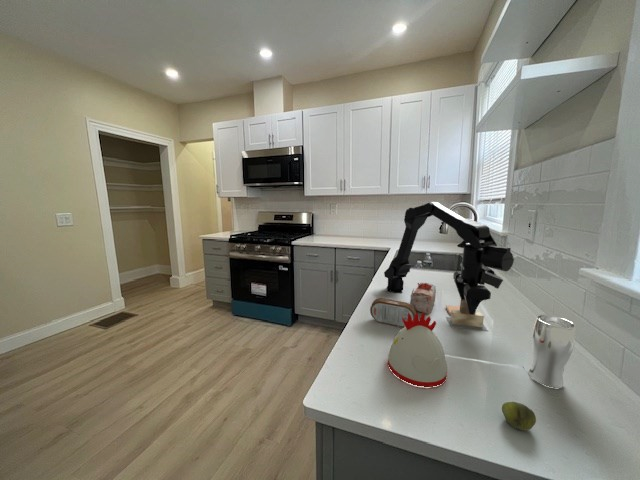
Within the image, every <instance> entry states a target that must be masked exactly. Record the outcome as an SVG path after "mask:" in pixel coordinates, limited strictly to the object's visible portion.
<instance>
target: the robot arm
mask: <svg viewBox="0 0 640 480" xmlns="http://www.w3.org/2000/svg"><path fill="white" fill-rule="evenodd" d="M432 216H434V217H435V218H437V219H438V220H439V221H441V222H443V223H445V224H446V225H448V226H449V227H451V228H452V229H454V230H455V231H456V234H457V236H458V237H459V238H461V239H462V241H461V242H460V243H458V244H457V245H456V246H457V247H458V248H460V249H461V248H462V249H463V250H462V259H461V260H462V262H461V263H460V265H459V267H460V268H461V271H460V270H459V271H458V270H456V271H455V272H453V276H452V277H453V280H454V283H455V287H456V289H457V291H458V294H459V298H460V300H461V299H463V300H466V304H467V307H468V311H469V314H472V315H473V314H474V313H475V311H476V312H477V309H478V307H479V305H480V303H481V302H482V301H487V300H491V295H492V292H491V291H490V290H489V289H488V288H487V287H486V286H485V284H486V285H489V286H491V287H493V288H494V289H497V290H498V289H500V286H501V285H502V284H503V282H504V279H503V278H502V277H500V276H498V275H497V274H495V271H494V270H500V271H503V272H508V271H510V269H512V267H513V265H514V261H515V258H514V256H513V253H512V252H511V247H508V246H507V247H506V246H505V247H504V246H498V244H497V243H496V241H495V239H494V238H493V236H492V234H491V232H490V227H489V226H488V225H486V224H485V223H482V222H478V221H476V220H475V221H474V220H470V219H467V218H464V216H461V215H459V214H457V213H456V212H454V211H452V210H451V209H450V208H447V207H445V206H444V205H442V204H441V203H440V202H437V201H431V202H427V203H425V204H423V205H419V206H416V207H409V208H406V210H405V214H404V218H403V219H404V220H403V221H404V222H403V223H404V225H405V229H404V232H403V235H402V239H401V242H400V245H399V249H398V252H397V255H396V256H395V257H394V258H393V259H392V260H391V262H390V264H389V267H388V268H387V269H386V270H385V271H384V272H383V274H384V275H383V276H384V278H387V288H386V289H387V290H386V291H387V292H390V293H391V292H392V293H400V294H401V293H403V291H404V284H405V283H404V279H403V278H406V277H407V274H408V273H410V272H411V268H412V264H411V263H410V260H409V258H410V255H411V252H412V249H413V246H414V244H415V240H416V237H417V234H418V232H419V230H420V228H422V226H424V224H425V223H426V221H427V219H428V218H429V217H432ZM483 266H484V267H483ZM485 267H486V268H485ZM493 269H494V270H493Z"/></svg>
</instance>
